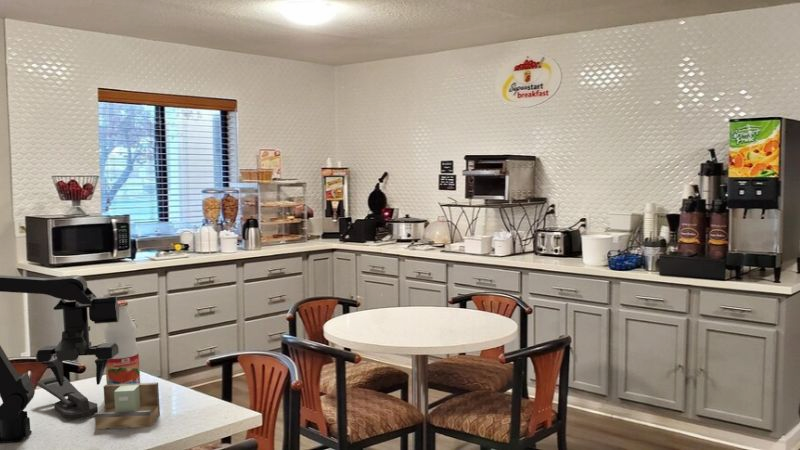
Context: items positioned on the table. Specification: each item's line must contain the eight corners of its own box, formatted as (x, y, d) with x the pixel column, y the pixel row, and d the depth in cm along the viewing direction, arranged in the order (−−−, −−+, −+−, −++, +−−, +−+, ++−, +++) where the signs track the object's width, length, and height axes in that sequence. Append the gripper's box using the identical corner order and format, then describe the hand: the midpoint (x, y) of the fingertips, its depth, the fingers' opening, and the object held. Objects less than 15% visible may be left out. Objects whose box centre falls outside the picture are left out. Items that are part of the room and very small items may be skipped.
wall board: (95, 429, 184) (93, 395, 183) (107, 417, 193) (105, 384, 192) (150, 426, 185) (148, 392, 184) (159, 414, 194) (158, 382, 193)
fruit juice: (138, 387, 220) (133, 297, 217) (143, 395, 211) (137, 302, 209) (105, 392, 215) (100, 301, 213) (109, 401, 207) (103, 306, 205)
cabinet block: (114, 414, 186) (113, 392, 185) (121, 407, 191) (120, 385, 191) (133, 414, 186) (132, 391, 185) (140, 406, 192) (139, 384, 191)
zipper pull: (64, 374, 213) (101, 390, 196) (66, 395, 213) (102, 413, 196) (33, 381, 206) (68, 398, 189) (34, 403, 207) (69, 423, 190)
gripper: (23, 334, 173) (28, 396, 174) (102, 330, 174) (106, 393, 175) (43, 324, 184) (47, 383, 185) (117, 321, 185) (121, 379, 186)
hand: (80, 385), depth 182 cm, fingers open, 9 cm apart
